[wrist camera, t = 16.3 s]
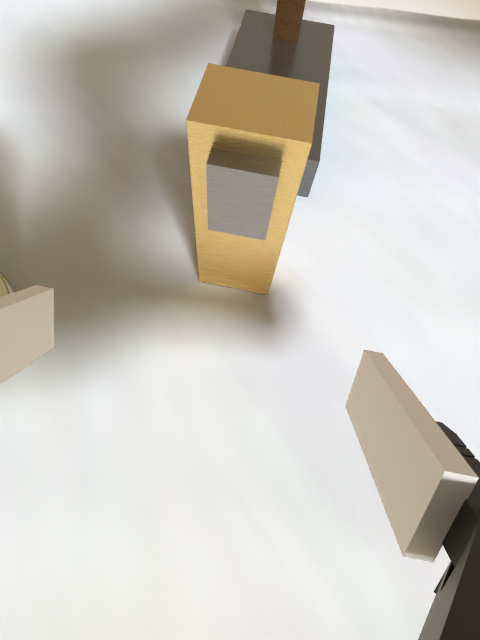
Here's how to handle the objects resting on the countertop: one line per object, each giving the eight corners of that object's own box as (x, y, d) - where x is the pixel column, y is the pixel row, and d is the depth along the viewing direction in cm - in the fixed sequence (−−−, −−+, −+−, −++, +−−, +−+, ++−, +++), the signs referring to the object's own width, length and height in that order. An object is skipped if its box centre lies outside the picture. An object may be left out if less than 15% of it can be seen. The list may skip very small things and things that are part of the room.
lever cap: (275, 250, 26) (319, 83, 15) (265, 306, 23) (309, 160, 13) (211, 237, 26) (208, 63, 15) (196, 293, 24) (179, 137, 13)
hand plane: (324, 64, 37) (367, -99, 26) (307, 199, 28) (362, 36, 18) (243, 49, 37) (254, -119, 26) (201, 179, 28) (194, 6, 18)
